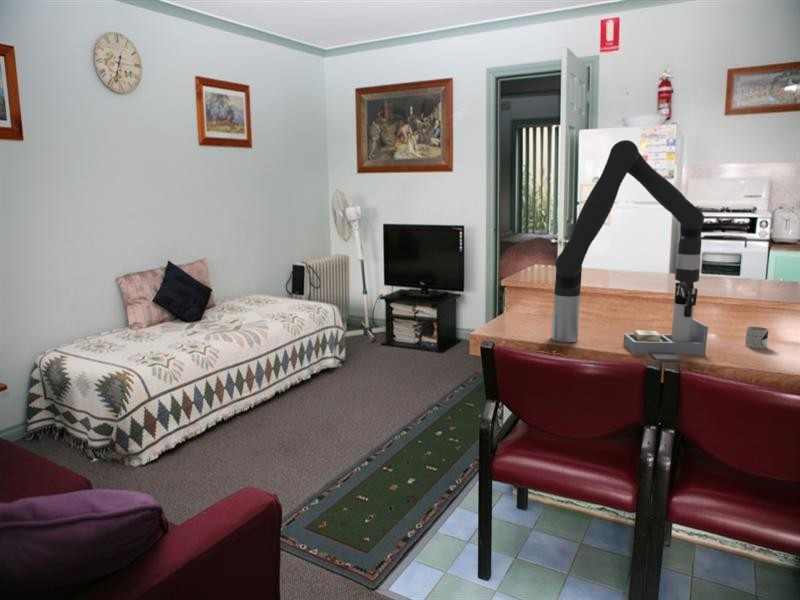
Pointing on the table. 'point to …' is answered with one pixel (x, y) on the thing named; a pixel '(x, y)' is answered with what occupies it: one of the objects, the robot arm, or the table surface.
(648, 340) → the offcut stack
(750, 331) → the notched grey stone block
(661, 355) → the mat
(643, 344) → the tray
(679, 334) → the travel mug
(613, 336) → the table surface
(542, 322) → the table surface
